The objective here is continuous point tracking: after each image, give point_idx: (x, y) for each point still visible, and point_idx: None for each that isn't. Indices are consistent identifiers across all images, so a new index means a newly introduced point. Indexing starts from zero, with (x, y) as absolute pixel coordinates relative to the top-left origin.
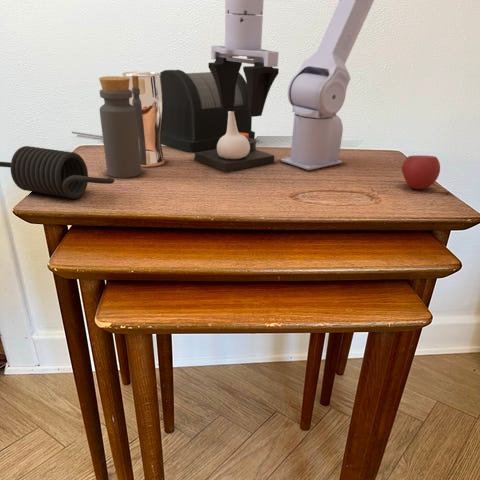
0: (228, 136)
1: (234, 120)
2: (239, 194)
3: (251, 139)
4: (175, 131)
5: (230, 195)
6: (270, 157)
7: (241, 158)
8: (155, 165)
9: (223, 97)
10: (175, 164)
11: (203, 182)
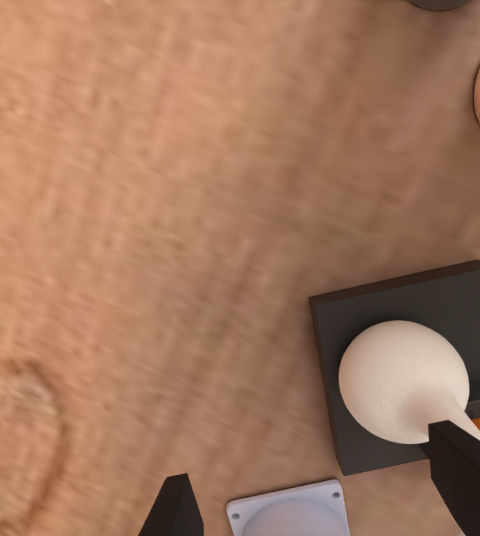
0: (414, 383)
1: None
2: (89, 246)
3: None
4: None
5: (87, 217)
6: (340, 460)
7: None
8: (474, 94)
9: (478, 479)
10: (462, 177)
11: (234, 189)
